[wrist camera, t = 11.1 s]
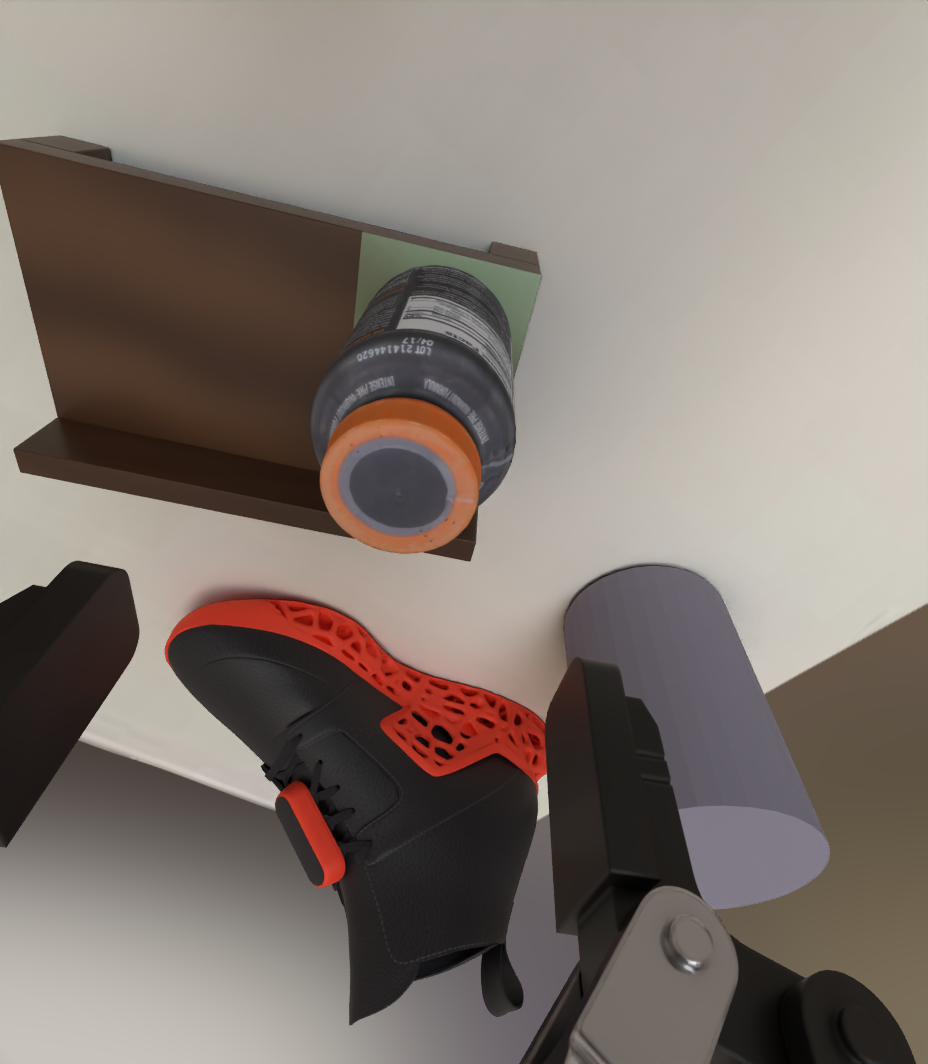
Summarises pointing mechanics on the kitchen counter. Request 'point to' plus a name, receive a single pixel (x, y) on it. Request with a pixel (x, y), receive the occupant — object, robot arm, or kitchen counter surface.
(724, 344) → the kitchen counter surface
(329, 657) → the high-top sneaker
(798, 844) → the purple-gray cylinder
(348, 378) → the pill bottle
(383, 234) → the shelf
